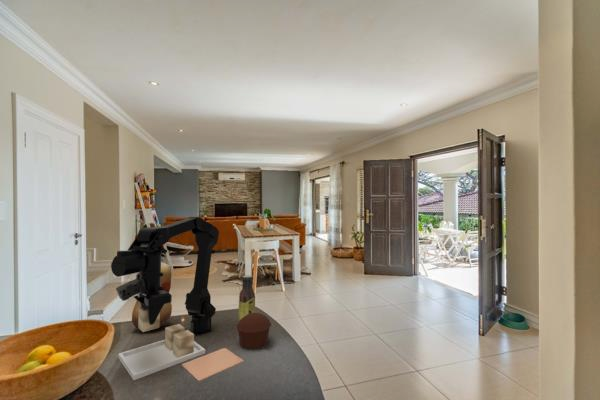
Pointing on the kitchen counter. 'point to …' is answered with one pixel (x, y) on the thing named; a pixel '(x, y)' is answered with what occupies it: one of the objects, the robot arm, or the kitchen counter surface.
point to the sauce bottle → (246, 297)
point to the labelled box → (146, 320)
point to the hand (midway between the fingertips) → (149, 322)
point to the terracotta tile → (212, 364)
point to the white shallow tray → (153, 358)
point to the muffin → (253, 331)
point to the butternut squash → (166, 284)
